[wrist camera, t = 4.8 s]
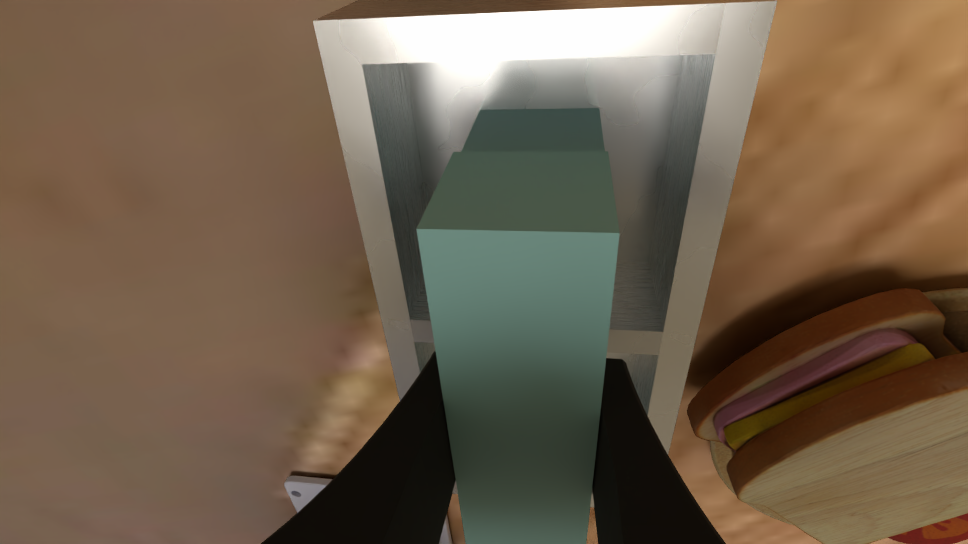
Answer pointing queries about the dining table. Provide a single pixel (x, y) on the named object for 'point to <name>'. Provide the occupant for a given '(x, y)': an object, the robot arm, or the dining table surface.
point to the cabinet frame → (554, 85)
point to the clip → (523, 318)
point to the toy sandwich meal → (851, 421)
